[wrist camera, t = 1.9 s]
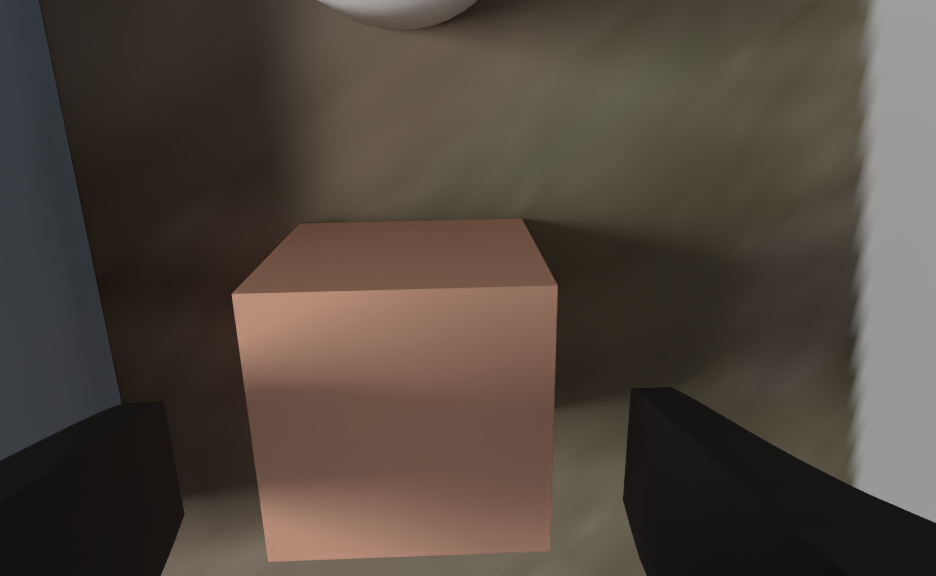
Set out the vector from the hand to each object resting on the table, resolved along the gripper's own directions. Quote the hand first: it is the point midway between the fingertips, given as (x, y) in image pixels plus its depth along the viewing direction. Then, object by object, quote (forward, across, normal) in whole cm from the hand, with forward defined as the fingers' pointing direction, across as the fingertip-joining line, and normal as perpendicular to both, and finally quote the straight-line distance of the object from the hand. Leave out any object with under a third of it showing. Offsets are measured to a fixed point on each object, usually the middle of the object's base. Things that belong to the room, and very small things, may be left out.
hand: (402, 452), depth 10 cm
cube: (+6, 0, 0) cm, 6 cm away
